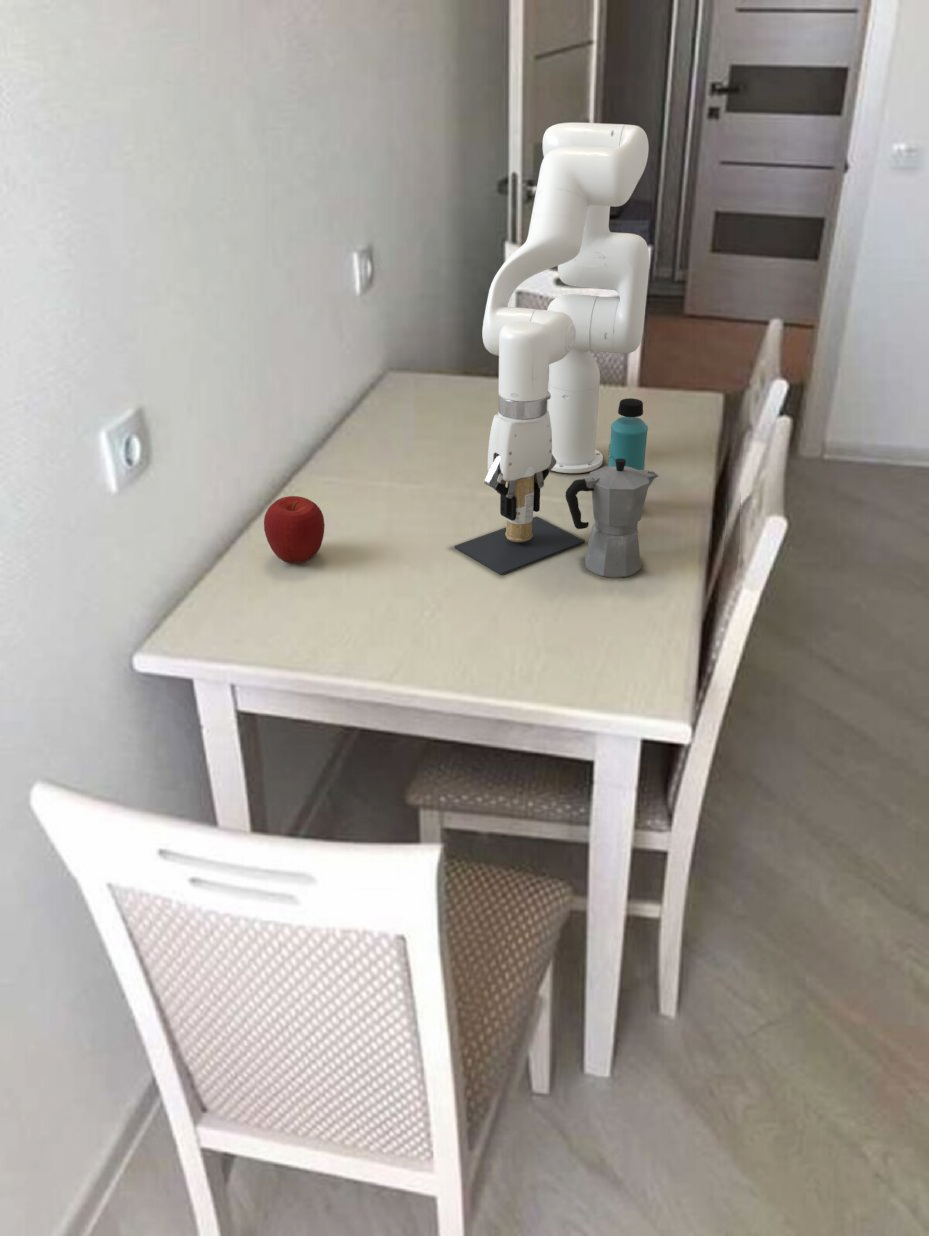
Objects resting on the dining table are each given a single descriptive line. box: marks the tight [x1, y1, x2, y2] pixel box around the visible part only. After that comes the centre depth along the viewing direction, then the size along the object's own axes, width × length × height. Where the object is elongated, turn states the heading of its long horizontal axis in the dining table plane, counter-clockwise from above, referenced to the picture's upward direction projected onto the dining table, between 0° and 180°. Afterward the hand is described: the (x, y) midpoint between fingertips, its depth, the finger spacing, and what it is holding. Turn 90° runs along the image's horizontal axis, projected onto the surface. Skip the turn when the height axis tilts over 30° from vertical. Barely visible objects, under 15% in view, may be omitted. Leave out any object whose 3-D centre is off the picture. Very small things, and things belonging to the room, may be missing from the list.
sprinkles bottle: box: [505, 467, 535, 542], centre depth 171 cm, size 5×5×13 cm
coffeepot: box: [565, 458, 659, 579], centre depth 163 cm, size 15×9×18 cm, turn 110°
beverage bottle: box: [607, 397, 649, 470], centre depth 181 cm, size 6×7×20 cm
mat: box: [454, 516, 586, 576], centre depth 174 cm, size 12×18×1 cm, turn 128°
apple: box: [263, 495, 326, 564], centre depth 168 cm, size 10×10×10 cm
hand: (519, 512), depth 172 cm, fingers closed on sprinkles bottle, 4 cm apart
